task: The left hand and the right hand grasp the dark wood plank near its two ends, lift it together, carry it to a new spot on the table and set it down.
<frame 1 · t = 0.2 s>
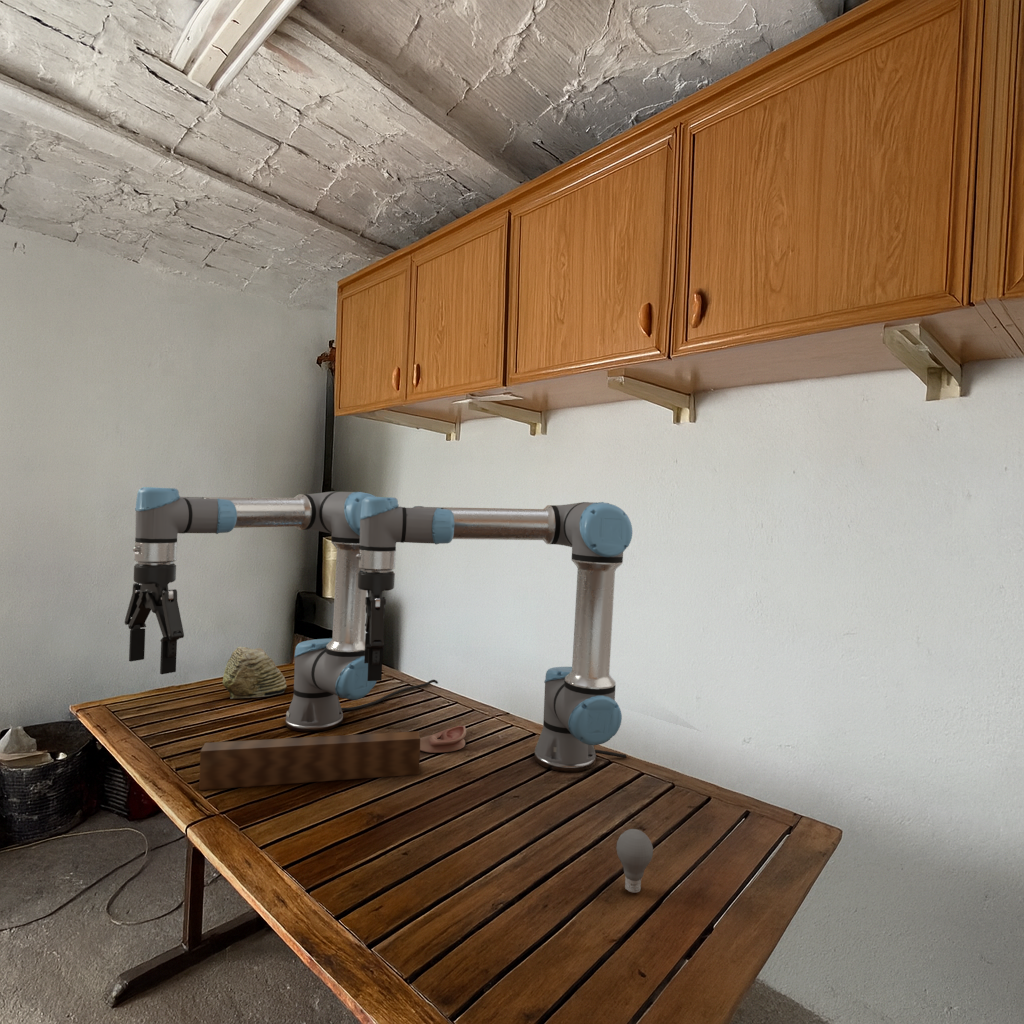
left hand: (151, 666, 130), 27 cm above the table, tool pointing down, fingers open, 13 cm apart
right hand: (372, 671, 133), 27 cm above the table, tool pointing down, fingers open, 13 cm apart
anatomical model: (439, 745, 164), on the table
light bulb: (632, 891, 106), on the table
fossil: (254, 694, 198), on the table
plank: (314, 777, 143), on the table
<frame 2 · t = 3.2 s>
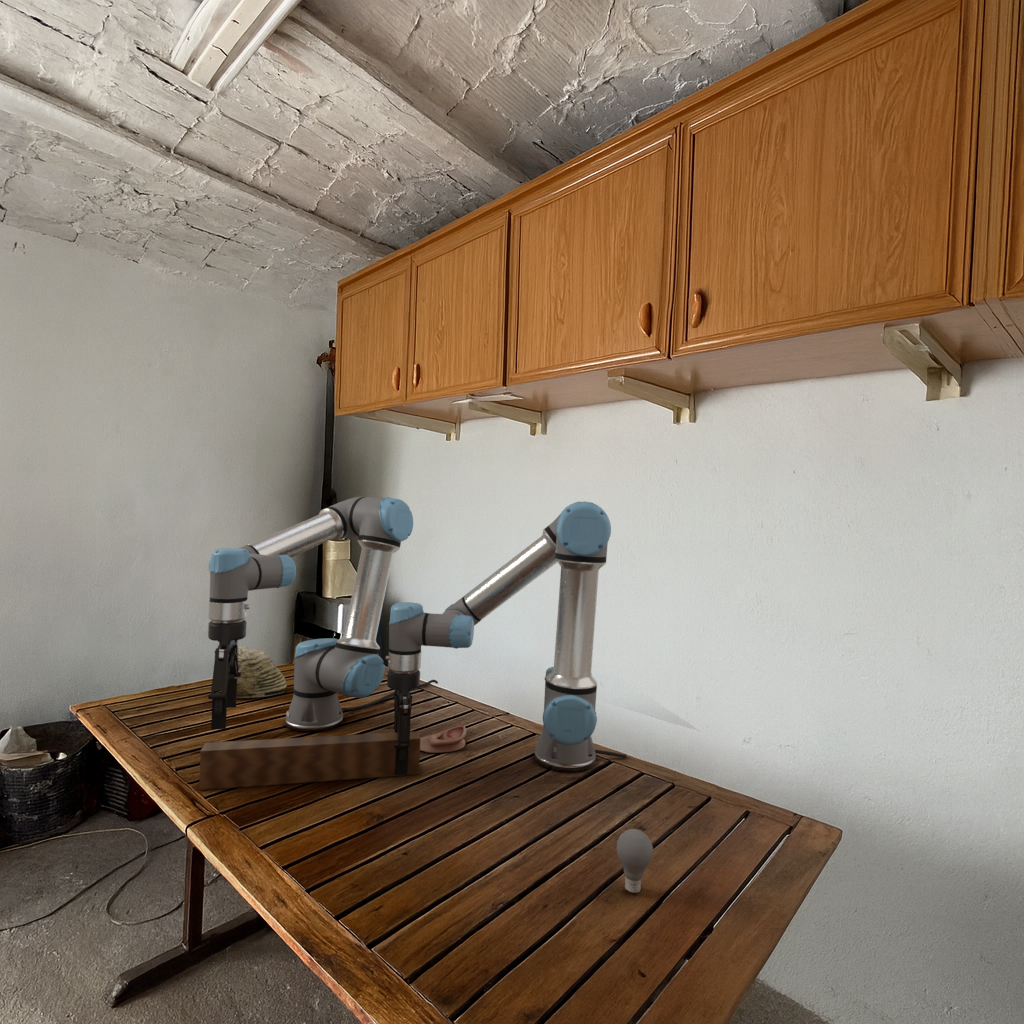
left hand: (224, 717, 137), 15 cm above the table, tool pointing down, fingers open, 13 cm apart
right hand: (399, 768, 148), 1 cm above the table, tool pointing down, fingers closed on plank, 5 cm apart
plank: (314, 777, 143), on the table, touching right hand
everything else where it was.
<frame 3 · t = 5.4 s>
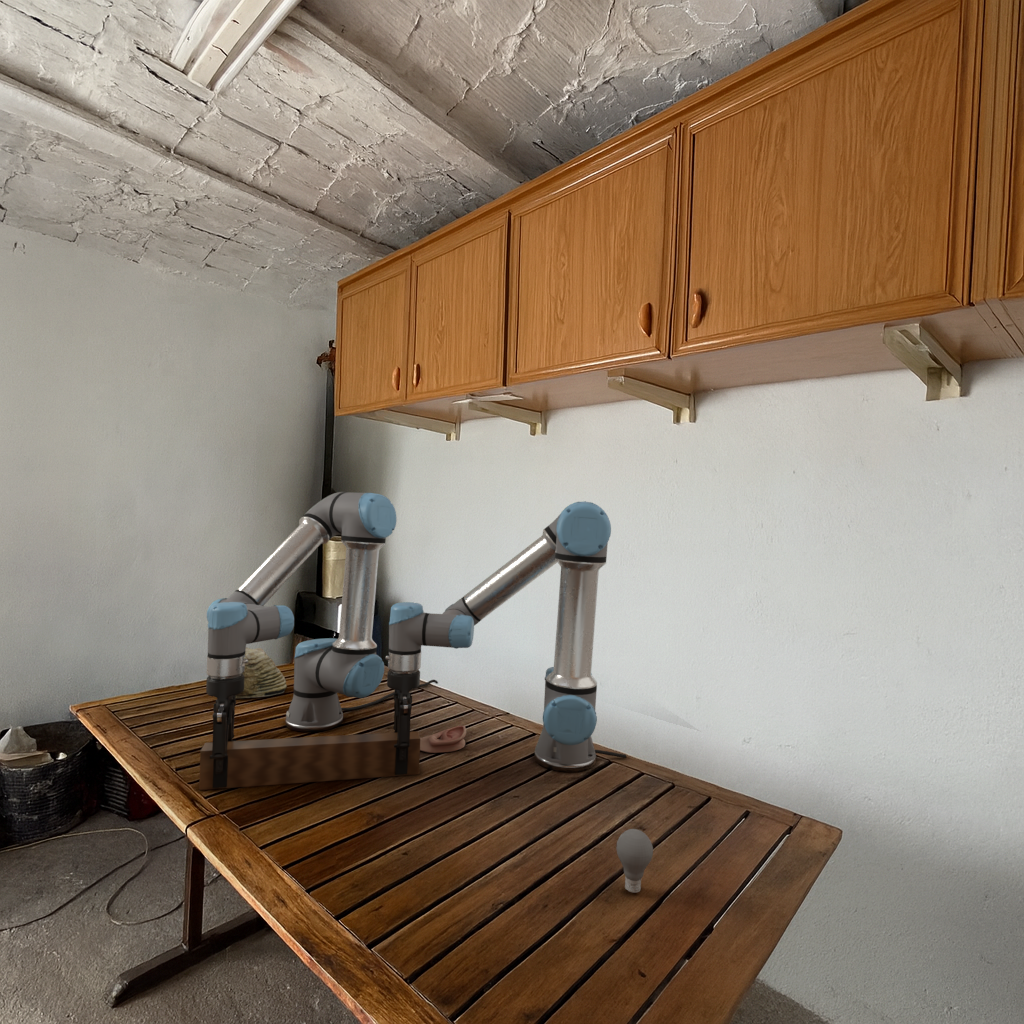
left hand: (222, 781, 138), 1 cm above the table, tool pointing down, fingers closed on plank, 5 cm apart
right hand: (399, 768, 148), 1 cm above the table, tool pointing down, fingers closed on plank, 5 cm apart
plank: (314, 777, 143), on the table, touching left hand, right hand
everything else where it was.
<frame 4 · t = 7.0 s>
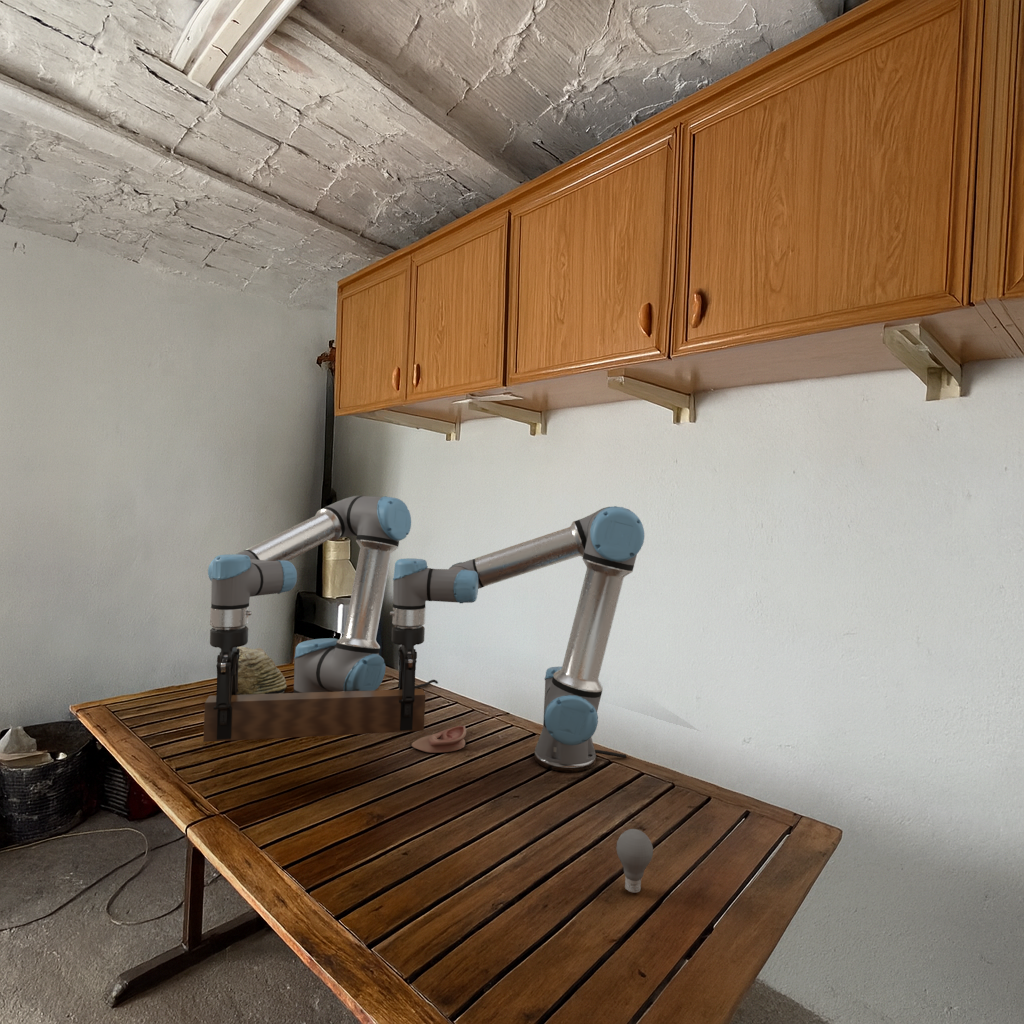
left hand: (226, 733, 137), 11 cm above the table, tool pointing down, fingers closed on plank, 5 cm apart
right hand: (405, 725, 147), 11 cm above the table, tool pointing down, fingers closed on plank, 5 cm apart
plank: (318, 732, 142), point 10 cm above the table, touching left hand, right hand
everything else where it was.
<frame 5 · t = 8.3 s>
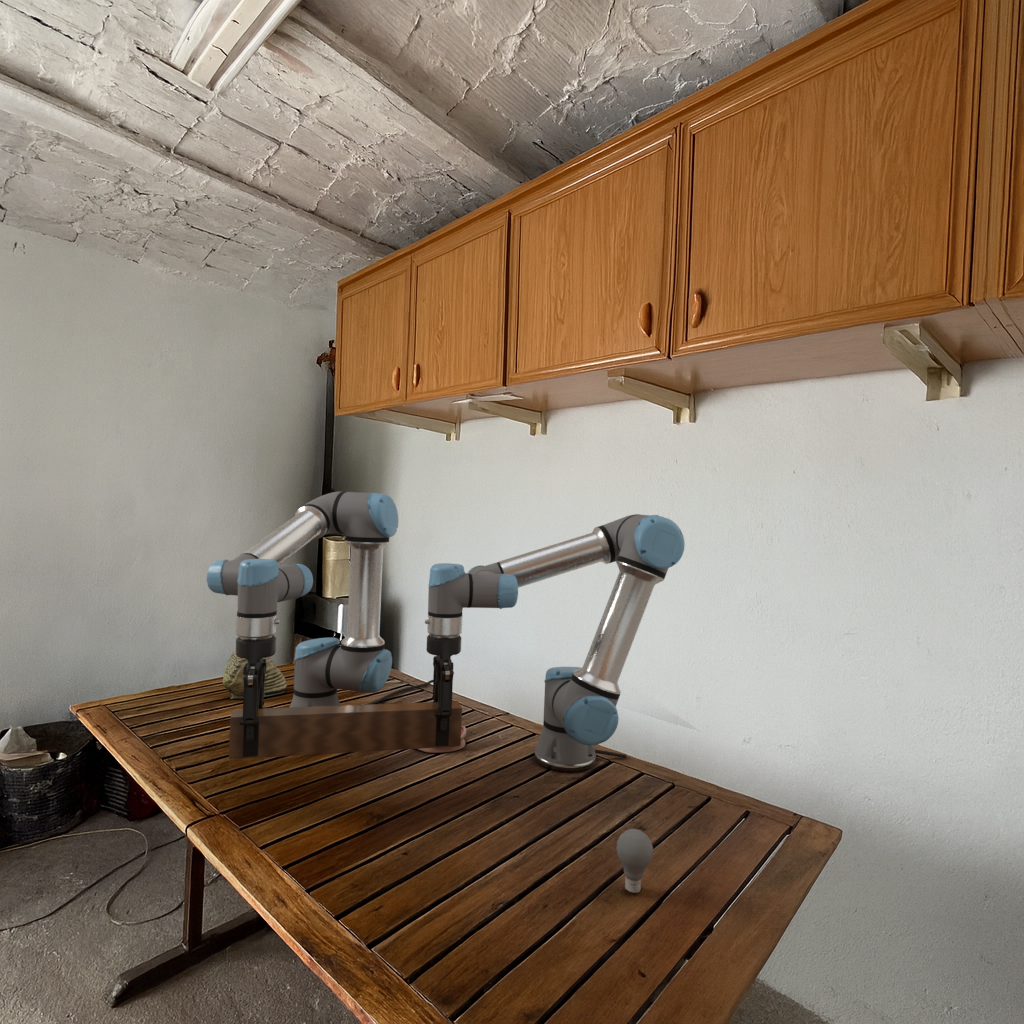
left hand: (252, 749, 128), 11 cm above the table, tool pointing down, fingers closed on plank, 5 cm apart
right hand: (440, 740, 139), 11 cm above the table, tool pointing down, fingers closed on plank, 5 cm apart
plank: (349, 748, 134), point 11 cm above the table, touching left hand, right hand
everything else where it was.
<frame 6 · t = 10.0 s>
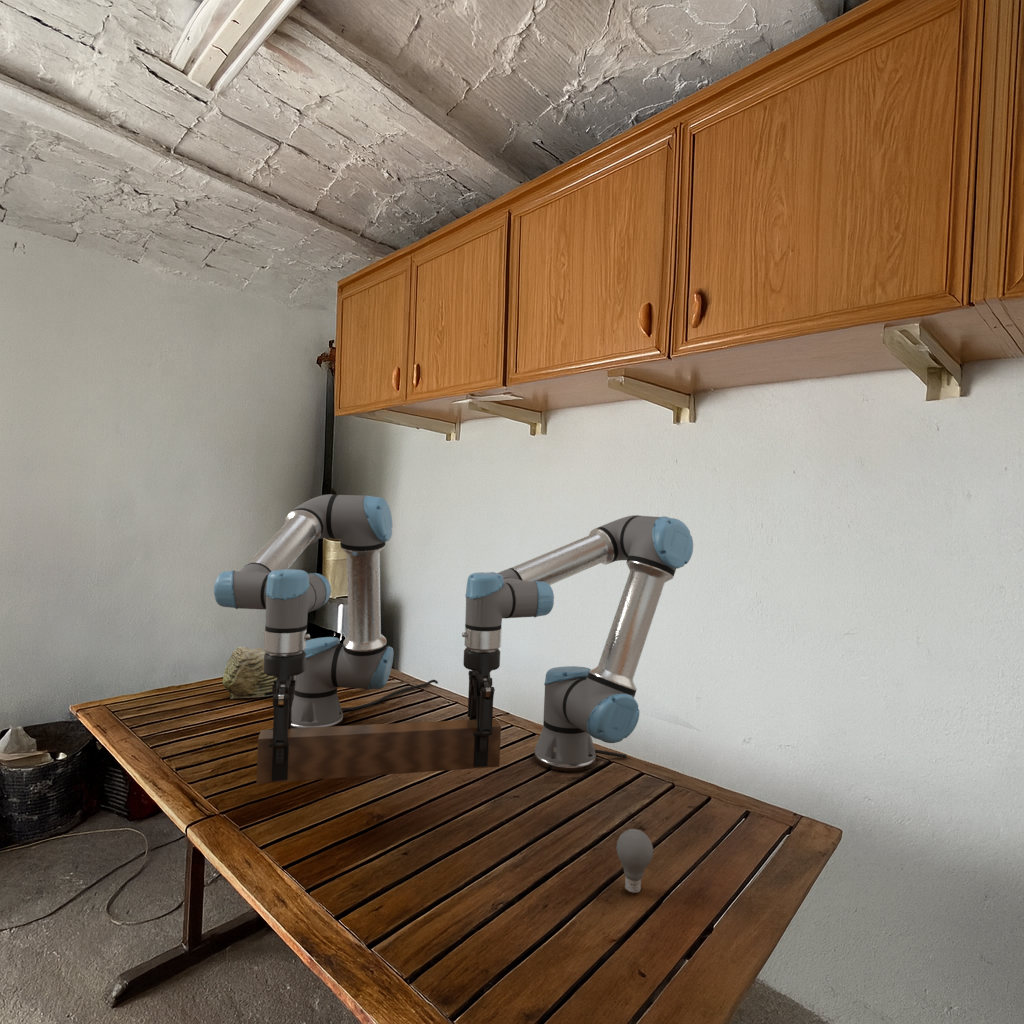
left hand: (280, 773, 121), 10 cm above the table, tool pointing down, fingers closed on plank, 5 cm apart
right hand: (477, 760, 131), 10 cm above the table, tool pointing down, fingers closed on plank, 5 cm apart
plank: (383, 769, 126), point 10 cm above the table, touching left hand, right hand
everything else where it was.
when the left hand's fingers open (2 cm above the table, at t = 11.2 s): plank drops 1 cm, on the table.
when the right hand's fingers open (2 cm above the table, at t = 11.2 s): plank drops 1 cm, on the table.
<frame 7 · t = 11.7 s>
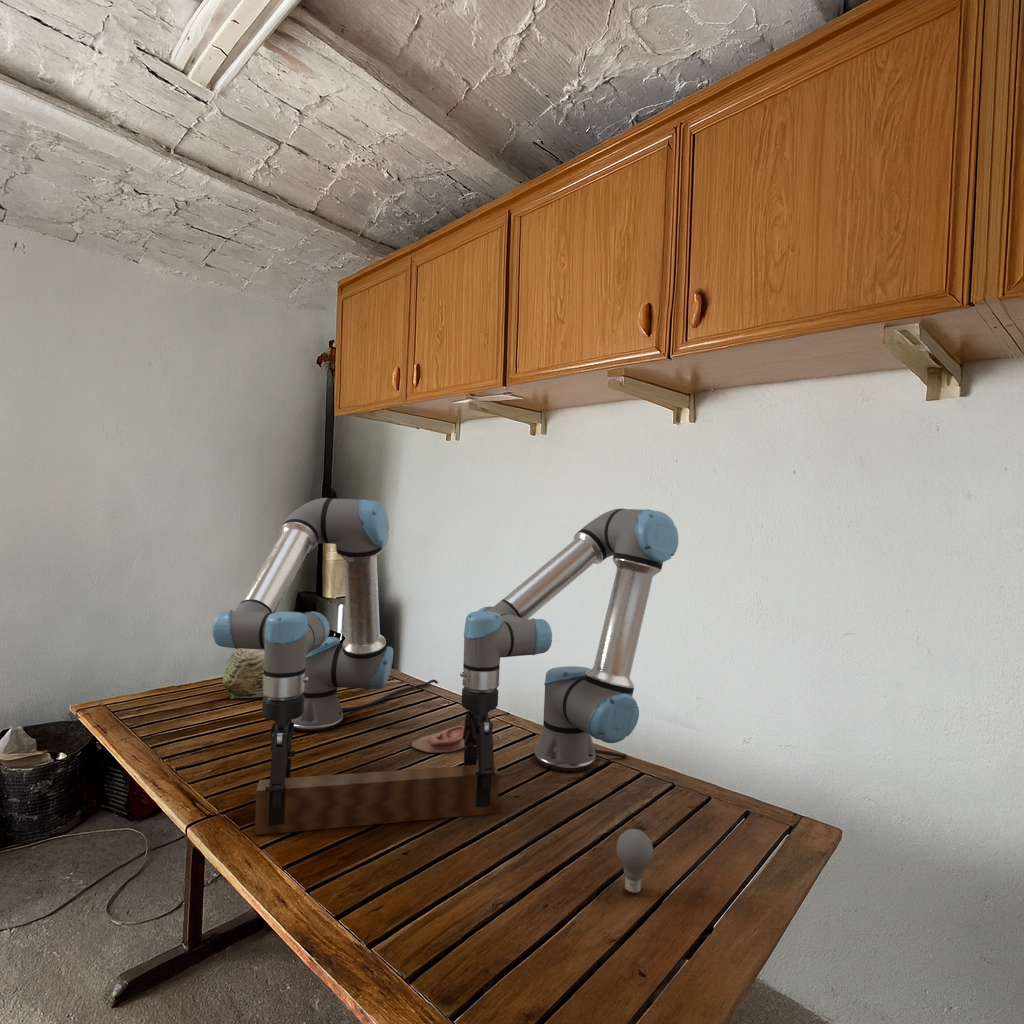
left hand: (279, 807, 121), 4 cm above the table, tool pointing down, fingers open, 12 cm apart
right hand: (475, 791, 131), 4 cm above the table, tool pointing down, fingers open, 12 cm apart
plank: (381, 817, 126), on the table
everything else where it was.
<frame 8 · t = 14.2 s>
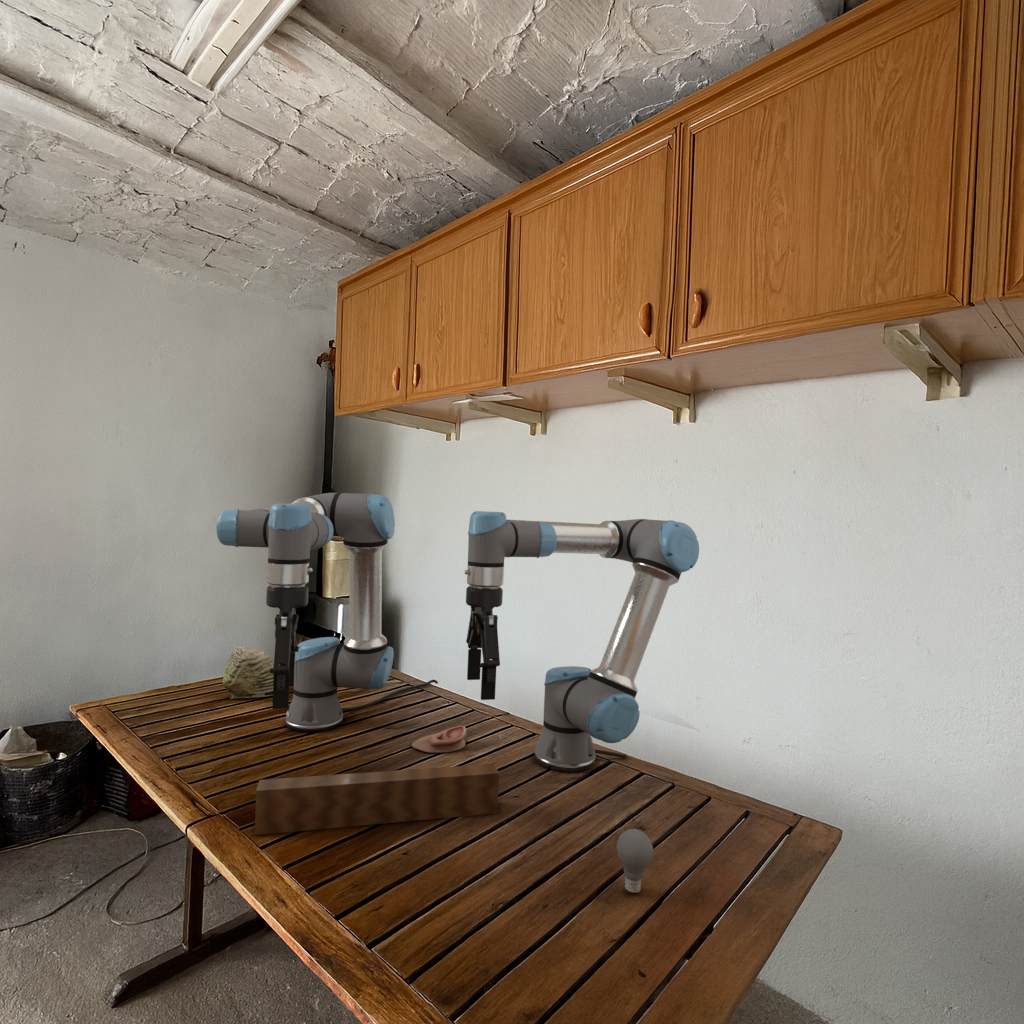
left hand: (283, 696, 120), 25 cm above the table, tool pointing down, fingers open, 13 cm apart
right hand: (480, 689, 131), 25 cm above the table, tool pointing down, fingers open, 13 cm apart
nothing on the table moved.
at the end: plank inside the target area (0.1 cm from its centre), on the table; plank tilted 0°; plank never tilted more than 1° during the clip; both hands held the plank at the same time; the left hand is holding nothing; the right hand is holding nothing; plank at rest at the end (0.0 cm/s) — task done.
